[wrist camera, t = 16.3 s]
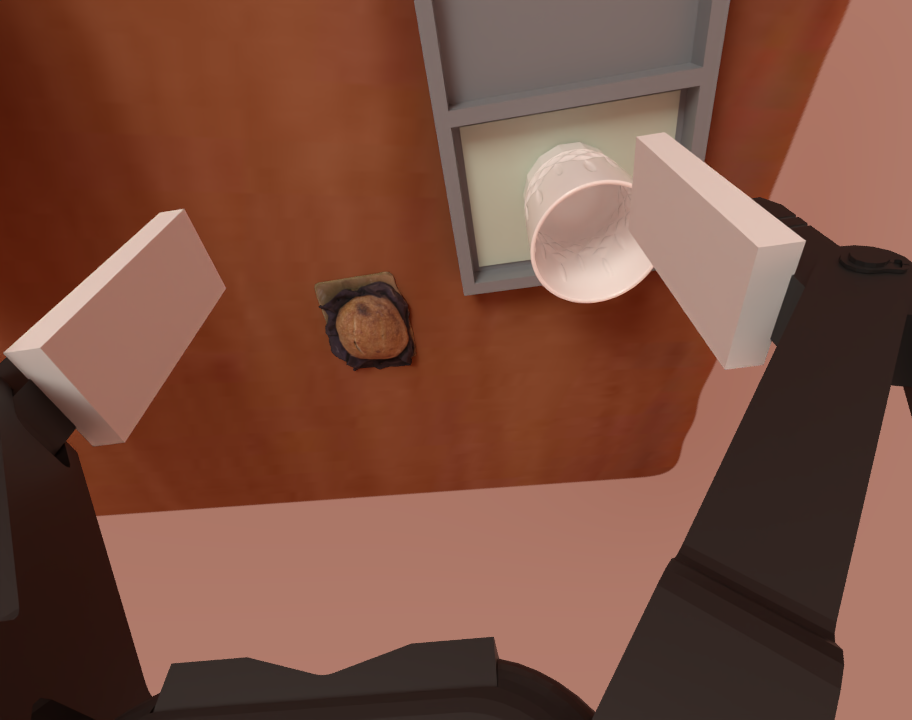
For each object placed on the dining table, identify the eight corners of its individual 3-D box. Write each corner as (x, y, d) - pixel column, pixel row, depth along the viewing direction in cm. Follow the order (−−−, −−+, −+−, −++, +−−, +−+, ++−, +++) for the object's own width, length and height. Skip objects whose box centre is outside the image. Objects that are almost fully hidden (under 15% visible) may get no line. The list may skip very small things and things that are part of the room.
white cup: (500, 220, 38) (510, 284, 30) (541, 116, 33) (567, 160, 26) (589, 249, 40) (621, 317, 32) (641, 153, 35) (694, 206, 27)
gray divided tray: (464, 278, 43) (464, 295, 40) (390, -162, 26) (384, -176, 24) (674, 249, 41) (687, 266, 38) (742, -245, 24) (772, -268, 22)
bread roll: (309, 279, 44) (298, 301, 41) (400, 266, 43) (395, 287, 40) (345, 368, 50) (337, 392, 47) (424, 359, 49) (421, 383, 46)
